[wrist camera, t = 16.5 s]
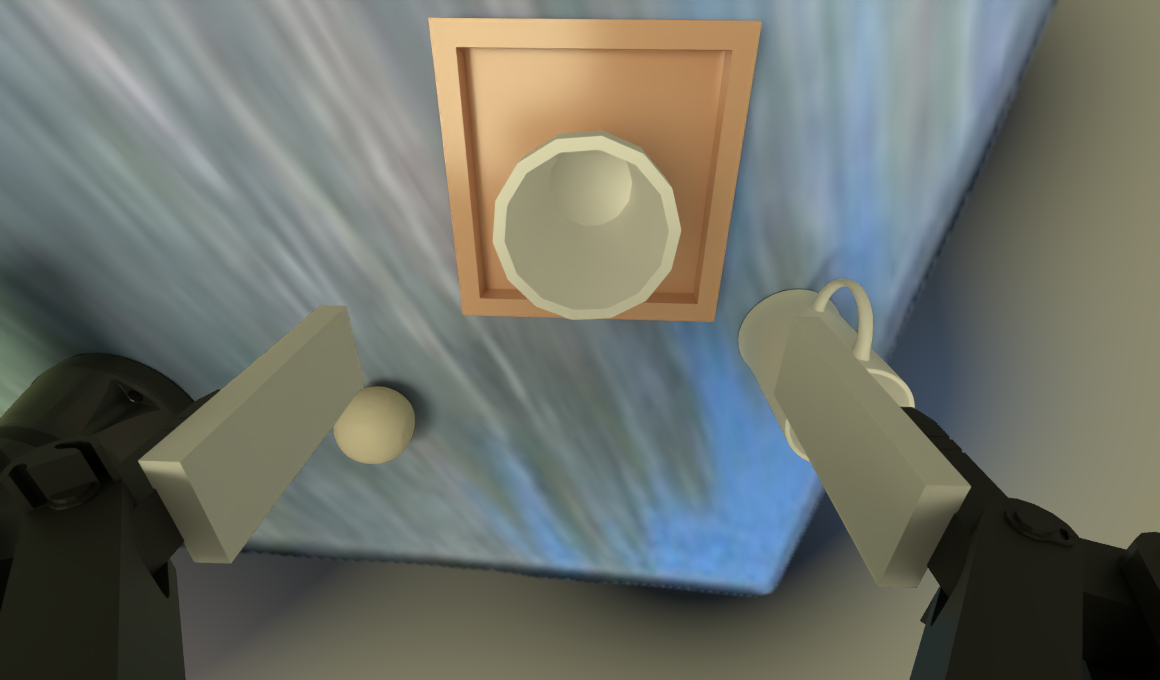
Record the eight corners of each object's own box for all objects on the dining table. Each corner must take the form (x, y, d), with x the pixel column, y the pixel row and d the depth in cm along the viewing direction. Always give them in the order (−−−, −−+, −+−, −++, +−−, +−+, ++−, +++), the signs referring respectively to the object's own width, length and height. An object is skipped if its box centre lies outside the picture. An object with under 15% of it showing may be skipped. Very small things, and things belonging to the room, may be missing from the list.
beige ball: (356, 428, 50) (323, 476, 44) (352, 368, 46) (316, 411, 40) (423, 439, 50) (399, 488, 44) (424, 379, 46) (399, 424, 41)
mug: (773, 241, 39) (837, 305, 28) (876, 262, 39) (977, 333, 29) (724, 366, 44) (762, 458, 34) (814, 383, 45) (879, 479, 34)
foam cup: (618, 85, 33) (627, 94, 22) (677, 206, 37) (710, 268, 25) (502, 159, 36) (454, 202, 24) (567, 266, 39) (553, 346, 28)
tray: (707, 305, 42) (714, 321, 39) (471, 299, 42) (462, 315, 39) (748, 24, 32) (761, 20, 29) (442, 21, 32) (428, 17, 30)
